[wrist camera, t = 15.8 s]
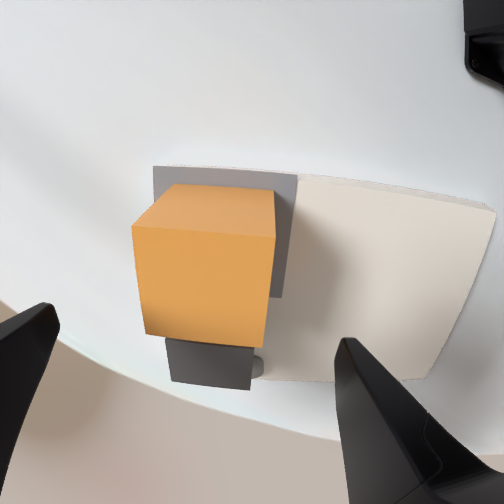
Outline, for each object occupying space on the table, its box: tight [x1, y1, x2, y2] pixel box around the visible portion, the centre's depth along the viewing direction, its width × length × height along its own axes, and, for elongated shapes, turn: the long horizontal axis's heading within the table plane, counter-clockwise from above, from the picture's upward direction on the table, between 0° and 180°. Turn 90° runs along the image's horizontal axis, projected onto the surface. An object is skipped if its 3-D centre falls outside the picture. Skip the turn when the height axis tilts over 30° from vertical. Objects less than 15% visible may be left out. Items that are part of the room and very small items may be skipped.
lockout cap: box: [132, 184, 276, 348], centre depth 13 cm, size 4×4×5 cm
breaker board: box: [153, 165, 497, 382], centre depth 17 cm, size 18×13×2 cm
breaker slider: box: [165, 337, 254, 390], centre depth 16 cm, size 4×3×4 cm
